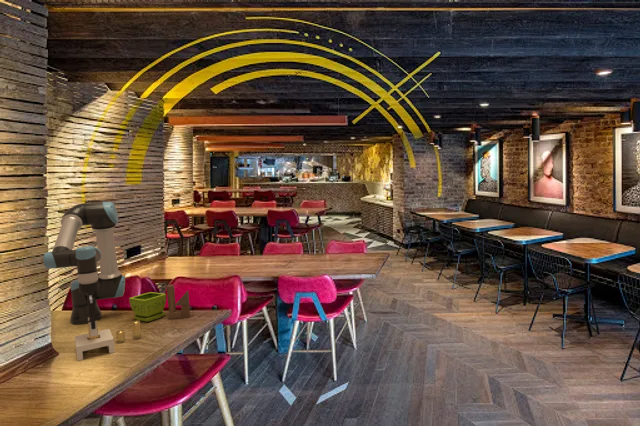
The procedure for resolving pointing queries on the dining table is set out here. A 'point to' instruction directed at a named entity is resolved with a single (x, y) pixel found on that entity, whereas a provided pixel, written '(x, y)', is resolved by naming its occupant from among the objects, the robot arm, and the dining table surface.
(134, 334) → the pin medium
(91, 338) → the pin long
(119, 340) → the pin short
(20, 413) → the dining table surface
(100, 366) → the dining table surface
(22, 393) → the dining table surface
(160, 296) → the flower pot
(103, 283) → the robot arm
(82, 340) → the white block with hole
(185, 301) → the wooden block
